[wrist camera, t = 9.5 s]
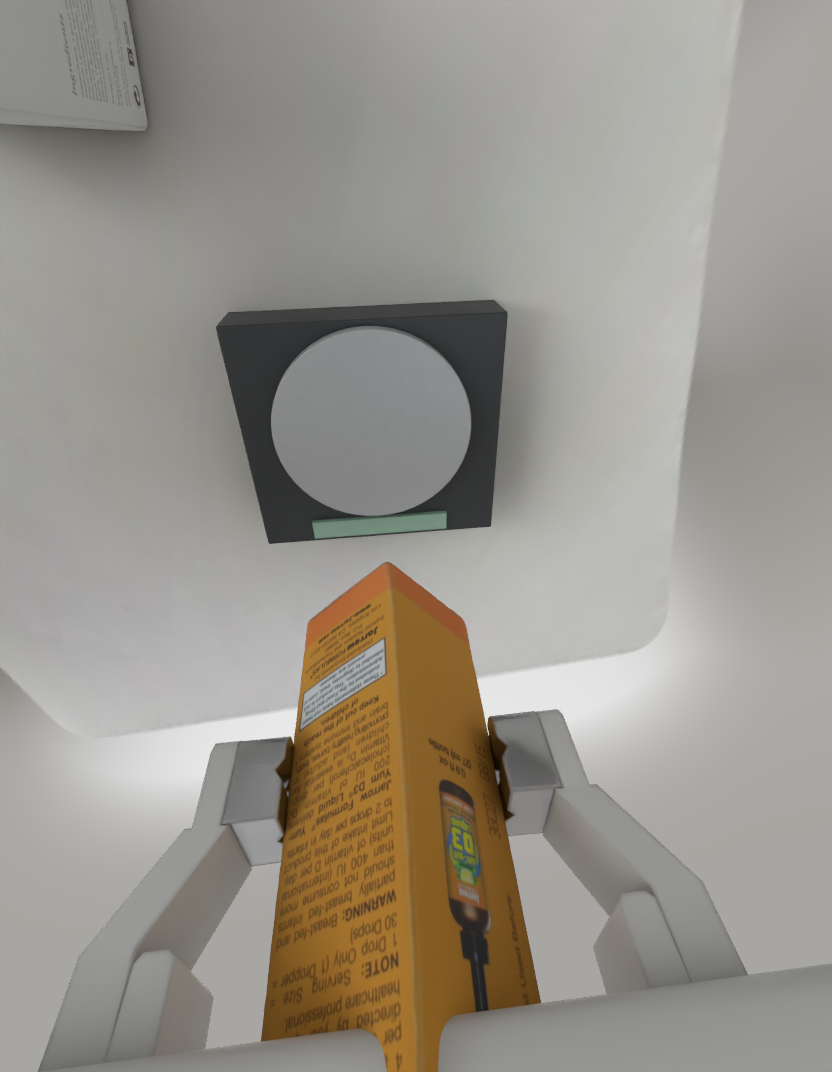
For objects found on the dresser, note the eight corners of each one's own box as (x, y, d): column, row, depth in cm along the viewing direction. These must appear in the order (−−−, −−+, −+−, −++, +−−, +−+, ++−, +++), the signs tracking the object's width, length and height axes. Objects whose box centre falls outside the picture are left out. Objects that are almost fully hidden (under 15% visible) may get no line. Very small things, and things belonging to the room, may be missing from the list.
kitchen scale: (274, 518, 29) (266, 553, 26) (227, 312, 22) (210, 331, 20) (481, 502, 30) (494, 535, 27) (494, 299, 23) (513, 316, 20)
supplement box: (293, 624, 13) (201, 1305, 5) (388, 551, 12) (450, 1276, 4) (379, 678, 15) (407, 1261, 7) (470, 619, 14) (626, 1231, 6)
